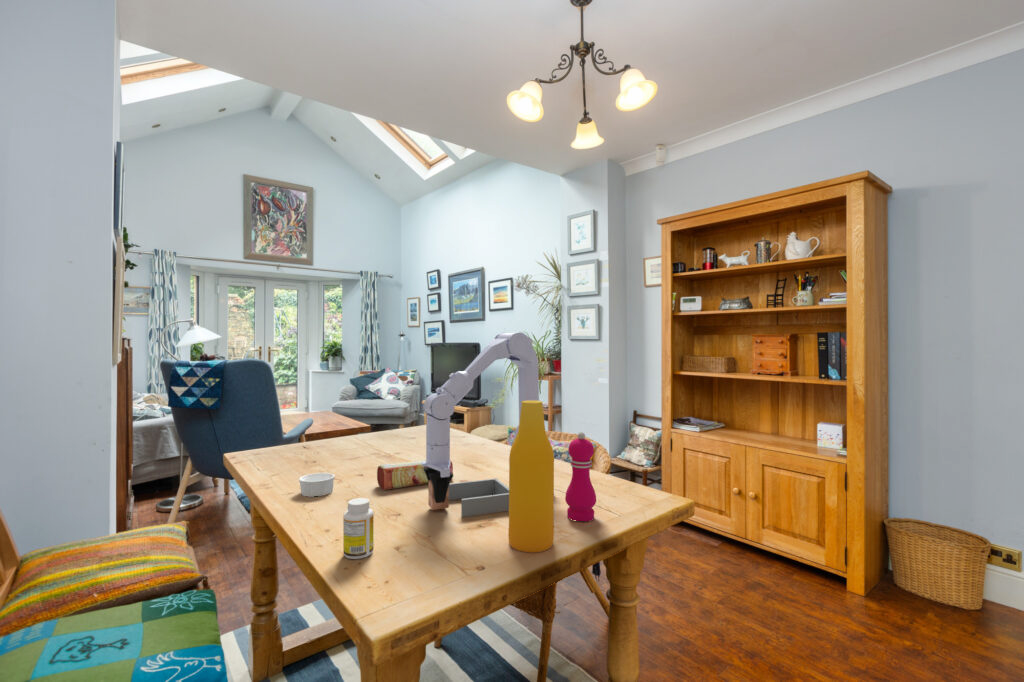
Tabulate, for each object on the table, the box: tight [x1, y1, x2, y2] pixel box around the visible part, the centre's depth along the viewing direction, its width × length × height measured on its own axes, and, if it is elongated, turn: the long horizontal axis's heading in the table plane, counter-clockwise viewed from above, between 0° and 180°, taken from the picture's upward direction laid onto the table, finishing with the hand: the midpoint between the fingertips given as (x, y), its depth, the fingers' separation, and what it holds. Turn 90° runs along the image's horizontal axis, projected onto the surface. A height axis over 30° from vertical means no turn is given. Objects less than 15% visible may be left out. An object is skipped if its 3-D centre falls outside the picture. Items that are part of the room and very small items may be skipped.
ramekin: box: [298, 472, 336, 498], centre depth 130 cm, size 9×9×4 cm
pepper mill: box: [564, 431, 597, 522], centre depth 113 cm, size 7×7×20 cm
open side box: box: [449, 477, 509, 518], centre depth 122 cm, size 14×14×4 cm
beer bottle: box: [507, 400, 555, 553], centre depth 98 cm, size 9×9×29 cm
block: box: [428, 480, 450, 511], centre depth 117 cm, size 4×4×6 cm
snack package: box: [376, 459, 454, 491], centre depth 139 cm, size 21×7×7 cm, turn 122°
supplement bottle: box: [342, 497, 375, 560], centre depth 93 cm, size 6×6×10 cm
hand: (437, 499), depth 117 cm, fingers closed on block, 4 cm apart
